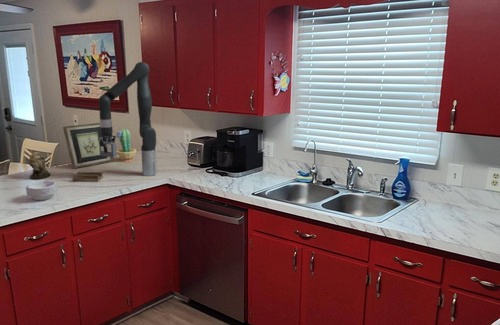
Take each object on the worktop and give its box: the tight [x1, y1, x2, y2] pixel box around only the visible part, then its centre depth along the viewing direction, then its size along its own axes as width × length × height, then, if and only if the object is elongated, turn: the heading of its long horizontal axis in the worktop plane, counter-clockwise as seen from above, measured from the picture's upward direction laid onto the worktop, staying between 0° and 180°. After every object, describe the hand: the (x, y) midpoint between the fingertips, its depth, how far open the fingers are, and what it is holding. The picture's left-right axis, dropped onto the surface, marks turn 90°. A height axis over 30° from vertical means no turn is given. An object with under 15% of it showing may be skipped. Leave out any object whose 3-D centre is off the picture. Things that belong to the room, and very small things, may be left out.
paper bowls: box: [25, 180, 58, 201], centre depth 229 cm, size 15×15×8 cm
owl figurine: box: [28, 151, 51, 180], centre depth 273 cm, size 18×12×17 cm, turn 17°
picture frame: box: [62, 122, 114, 169], centre depth 307 cm, size 33×10×30 cm, turn 143°
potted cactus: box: [115, 128, 137, 163], centre depth 323 cm, size 15×15×25 cm
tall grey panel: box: [99, 142, 118, 159], centre depth 272 cm, size 3×12×9 cm, turn 63°
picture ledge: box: [72, 171, 104, 183], centre depth 268 cm, size 10×16×4 cm, turn 93°
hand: (107, 152), depth 272 cm, fingers closed on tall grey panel, 3 cm apart
